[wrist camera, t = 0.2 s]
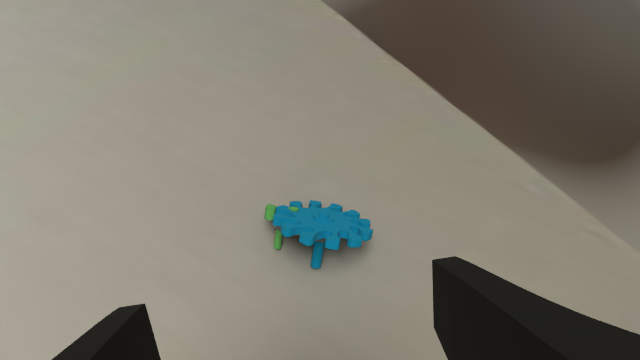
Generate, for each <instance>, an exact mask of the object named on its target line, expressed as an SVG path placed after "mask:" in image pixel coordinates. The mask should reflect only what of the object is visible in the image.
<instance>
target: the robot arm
mask: <svg viewBox="0 0 640 360" xmlns="http://www.w3.org/2000/svg"><path fill="white" fill-rule="evenodd" d="M432 269H433V309H434V329H435V331H436V333H437V336H438V338H439V340H440V343H441V345H442V347H443V350H444V352H445V354H446V356H447V358H448V360H640V335H639V334H636V333H633V332H630V331H627V330H624V329H621V328H618V327H616V326H613V325H610V324H607V323H604V322H601V321H599V320H596V319H593V318H591V317H588V316H585V315H583V314H580V313H578V312H575V311H573V310H570V309H568V308H566V307H563V306H561V305H559V304H556V303H554V302H552V301H549V300H547V299H545V298H542V297H540V296H538V295H536V294H534V293H531V292H529V291H527V290H525V289H523V288H521V287H519V286H517V285H515V284H513V283H510V282H508V281H506V280H504V279H502V278H500V277H498V276H496V275H494V274H492V273H490V272H488V271H486V270H484V269H482V268H480V267H478V266H476V265H474V264H472V263H470V262H468V261H465V260H463V259H461V258H458V257H456V256H455V257H448V258H442V259H435V260H432ZM52 360H161V359H160V356H159V352H158V348H157V345H156V341H155V338H154V334H153V331H152V327H151V323H150V320H149V316H148V313H147V309H146V306H145V304H139V305H133V306H126V307H120V308H118V309H116V310H115V311H113V312H112V313H111V314H109V315H108V316H106V317H105V318H104V319H102V320H101V321H100V322H99V323H97V324H96V325H95V326H93V327H92V328H91V329H90V330H88V331H87V332H86V333H85V334H83V335H82V336H81V337H80V338H78V339H77V340H76V341H75V342H73V343H72V344H71V345H70V346H68V347H67V348H66V349H65V350H63V351H62V352H61V353H60V354H58V355H57V356H56V357H54V358H53V359H52Z"/></svg>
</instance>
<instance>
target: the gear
mask: <svg viewBox="0 0 640 360" xmlns="http://www.w3.org/2000/svg"><path fill="white" fill-rule="evenodd" d="M341 211H342V206H340V205H337V204H331V205H330V206H329V207H327V208H321V202H318V201H312V200H311V201H310V203H309V208H302V203H301V202H299V201H292V202H290V207H287V206H284V205H282V206H278V207H276V206H275V205H271V204H269V205H266V210H265V219H267V220H273V223H272V227H273V228H274V229H276V234H275V242H274V248H275V249H280V248H281V242H282V235H283V236H284V237H291V236H293V235H296V236H300V238H299V242H300V243H302V244H304V245H307V246H312V245H313V243H314V248H313V255H312V261H311V267H313V268H320V267H321V261H322V255H323V249H324V243H325V248H328V249H334V250H338V249H339V245H340V238H345V239H347V245H348V246H349V247H361V243H362V240H364V241H368V240H370V239H371V238H372V233H373V230H372V229H369V227H370V220H368V219H359V217H360V214H359V213H358V212H357V211H355V210H350V211H346V212H341ZM275 212H276V214H275Z"/></svg>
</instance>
